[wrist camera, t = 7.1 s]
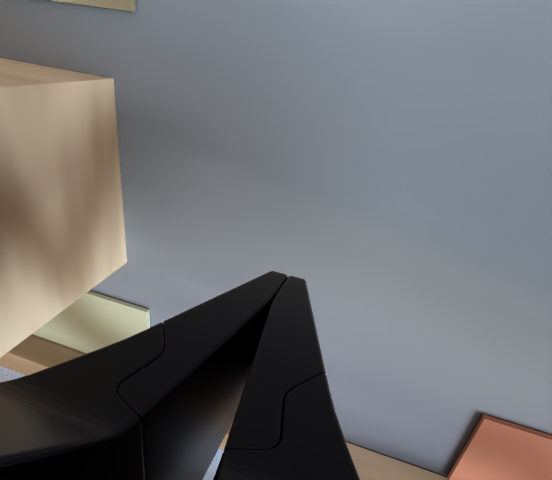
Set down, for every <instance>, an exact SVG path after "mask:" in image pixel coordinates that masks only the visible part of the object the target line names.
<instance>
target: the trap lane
mask: <svg viewBox="0 0 552 480" xmlns="http://www.w3.org/2000/svg"><path fill="white" fill-rule="evenodd" d="M51 1H59V2H66V3H73V4H81V5H88V6H95V7H103V8H110V9H117V10H125V11H132V12H136V3H135V0H51ZM148 328H150V315H149V309H146V308H143V307H140V306H137V305H133V304H130V303H127V302H124V301H121V300H117V299H114V298H111V297H108V296H105V295H101V294H98V293H95V292H92V291H88V292H87V293H86V294H84V295H83V296H82V297H80V298H79V299H78V300H76V301H75V302H74V303H72V304H71V305H70V306H68V307H67V308H66V309H64V310H63V311H62V312H60V313H59V314H58V315H56V316H55V317H54V318H52V319H51V320H50V321H49V322H47V323H46V324H45V325H43V326H42V327H41V328H39V329H38V330H37V331H35V332H34V333H33V334H31V335H30V336H29V337H27V338H26V339H25V340H23V341H22V342H21V343H19V344H18V345H17V346H15V347H14V348H13V349H11V350H10V351H9V352H7V353H6V354H5V355H3V356H2V357H1V358H0V365H1V366H3V367H6V368H8V369H11V370H14V371H16V372H19V373H22V374H24V375H30V374H33V373H35V372H38V371H41V370H44V369H46V368H49V367H52V366H54V365H57V364H60V363H63V362H65V361H68V360H71V359H73V358H76V357H79V356H82V355H84V354H87V353H90V352H92V351H95V350H98V349H100V348H103V347H106V346H108V345H111V344H113V343H116V342H118V341H121V340H123V339H126V338H128V337H130V336H133V335H135V334H137V333H139V332H142V331H144V330H146V329H148ZM232 423H233V422H232ZM231 426H232V424H231ZM231 426H230V428H229V430H228V431H227V433H226V435H225V437H224V439H223V441H222V443H221V445H220V447H219V449H221V450H224V448H225V445H226V442H227V439H228V435H229V432H230V429H231ZM346 444H347V447H348V449H349V452H350V454H351V457H352V460H353V462H354V465H355V468H356V470H357V473H358V476H359V478H360V480H552V435H549V434H545V433H542V432H539V431H536V430H533V429H529V428H526V427H523V426H520V425H517V424H513V423H510V422H507V421H504V420H501V419H497V418H494V417H491V416H488V415H485V414H483V416H482V418H481V419H480V421H479V423H478V425H477V426H476V428H475V430H474V431H473V433H472V435H471V437H470V438H469V440H468V442H467V444H466V445H465V447H464V449H463V451H462V452H461V454H460V456H459V457H458V459H457V461H456V463H455V464H454V466H453V468H452V470H451V471H450V473H449V475H448V478H447V477H444V476H441V475H438V474H436V473H433V472H430V471H427V470H424V469H421V468H419V467H416V466H413V465H410V464H407V463H404V462H401V461H399V460H396V459H393V458H390V457H387V456H384V455H381V454H379V453H376V452H373V451H370V450H367V449H364V448H362V447H359V446H356V445H353V444H350V443H347V442H346Z"/></svg>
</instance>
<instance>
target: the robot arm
mask: <svg viewBox="0 0 552 480" xmlns="http://www.w3.org/2000/svg"><path fill="white" fill-rule="evenodd" d="M232 422H233V423H232ZM231 424H232V426H231ZM230 426H231V429H230V432H229V435H228V439H227V442H226V445H225V448H224V452H223V454H222V457H221V460H220V463H219V466H218V469H217V471H216V474H215V476H214V479H213V480H360V478H359V476H358V473H357V470H356V468H355V465H354V462H353V460H352V457H351V454H350V452H349V449H348V447H347V444H346V441H345V439H344V436H343V433H342V430H341V427H340V424H339V421H338V419H337V416H336V413H335V409H334V405H333V402H332V398H331V394H330V390H329V386H328V381H327V377H326V375H325V368H324V363H323V359H322V354H321V350H320V345H319V340H318V336H317V331H316V327H315V322H314V317H313V313H312V308H311V304H310V299H309V294H308V290H307V285H306V281H305V280H304V279H301V278H297V277H293V276H289V277H287V275H285V274H282V273H278V272H275V271H271V272H268V273H266V274H264V275H262V276H260V277H257V278H255V279H253V280H251V281H249V282H247V283H245V284H243V285H240V286H238V287H236V288H234V289H232V290H230V291H228V292H225V293H223V294H221V295H219V296H217V297H215V298H213V299H211V300H208V301H206V302H204V303H202V304H200V305H198V306H196V307H193V308H191V309H189V310H187V311H185V312H183V313H181V314H179V315H176V316H174V317H172V318H170V319H168V320H166V321H164V323H159V324H157V325H155V326H153V327H151V328H148V329H146V330H144V331H142V332H139V333H137V334H135V335H133V336H130V337H128V338H126V339H123V340H121V341H118V342H116V343H113V344H111V345H108V346H106V347H103V348H100V349H98V350H95V351H92V352H90V353H87V354H84V355H82V356H79V357H76V358H73V359H71V360H68V361H65V362H63V363H60V364H57V365H54V366H52V367H49V368H46V369H44V370H41V371H38V372H35V373H33V374H30V375H27V376H24V377H21V378H18V379H14V380H10V381H6V382H0V480H202V479H203V477H204V475H205V473H206V471H207V470H208V468H209V466H210V464H211V462H212V460H213V458H214V456H215V454H216V452H217V451H218V449H219V447H220V445H221V443H222V441H223V439H224V437H225V435H226V433H227V431H228V430H229V428H230Z"/></svg>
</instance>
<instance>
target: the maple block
mask: <svg viewBox="0 0 552 480" xmlns="http://www.w3.org/2000/svg"><path fill="white" fill-rule="evenodd" d="M126 263H127V258H126V244H125V230H124V216H123V202H122V188H121V175H120V161H119V147H118V133H117V119H116V106H115V92H114V79H113V78H108V77H102V76H97V75H91V74H86V73H80V72H75V71H69V70H64V69H58V68H53V67H47V66H42V65H36V64H31V63H25V62H20V61H14V60H9V59H3V58H0V358H1V357H2V356H3V355H5V354H6V353H7V352H9V351H10V350H11V349H13V348H14V347H15V346H17V345H18V344H19V343H21V342H22V341H23V340H25V339H26V338H27V337H29V336H30V335H31V334H33V333H34V332H35V331H37V330H38V329H39V328H41V327H42V326H43V325H45V324H46V323H47V322H49V321H50V320H51V319H52V318H54V317H55V316H56V315H58V314H59V313H60V312H62V311H63V310H64V309H66V308H67V307H68V306H70V305H71V304H72V303H74V302H75V301H76V300H78V299H79V298H80V297H82V296H83V295H84V294H86V293H87V292H88V291H90V290H91V289H92V288H94V287H95V286H96V285H98V284H99V283H100V282H102V281H103V280H104V279H106V278H107V277H108V276H110V275H111V274H112V273H114V272H115V271H116V270H118V269H119V268H120V267H122V266H123V265H124V264H126Z"/></svg>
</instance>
